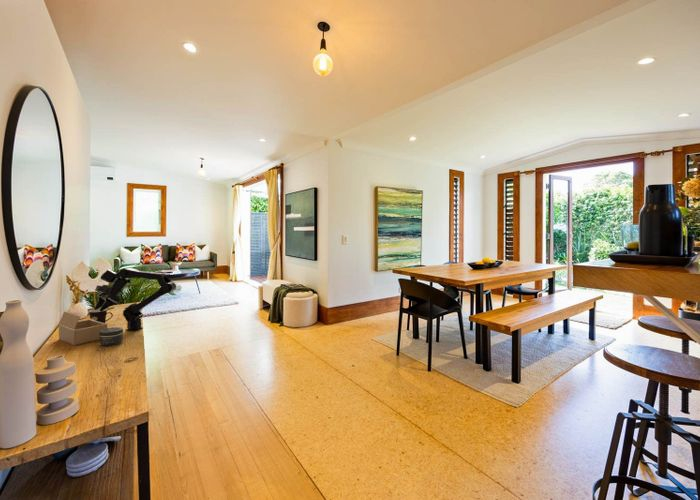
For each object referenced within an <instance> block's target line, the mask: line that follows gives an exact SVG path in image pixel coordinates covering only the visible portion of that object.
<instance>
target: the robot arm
mask: <svg viewBox="0 0 700 500" xmlns="http://www.w3.org/2000/svg"><path fill="white" fill-rule="evenodd" d="M134 278H140V279H148V280H155V281H157V282H158V286H159V287H160V288H158V290H156V291H155V292H153V293H152V294H151V295H149V296H147V297H146V298H145V299H143V300H141V301H140V302H138V303H137V302H133V303H132V304H129V305H128V306H127V307H125V308H124V310H123V311H122V316H123V317H124V319H125V322H127V323H126V325H127V328H126V329H125V331H127V332H128V331H131V332H135V331H139V330H141V329H142V330H143V328H142V327H143V326H142V318H143V316H144V314H143V313H142V310H143V309H144V308H146V307H147V306H149V305H150V304H151V303H153V302H155V301H156V300H158V299H159V298H161V297H162V296H164V295H167V294H168V293H171V292H174V291H175V290H176V289H177V284H176V283H175V282H174V281H172V280H171V278H169V277H168V276H167V275H165V273H163V272H154V271H145V270H138V269H137V268H133V267H125V268H122V269H120V271H119V272H115V271H113V270H111V269H107V270H106V271H104V272H103V273H102V274H101V276H100V280H101V281H104V282H106V283H108V284H111V285H109V286H108V285H107V284H102V285H99V284H98V285H97V284H96V287H95V290H94V291H95V292H99V293H98V294H97V295H96V297H97V302H96V304H95V306H94V308H93V310H97V309H100V311H103V310H105V309H107V310H108V308H110V307H112V306H113V305H117V304H119V302H120V301H121V298H120V297H119V296H118V295H119V294H121V293H122V292H123V290H124V288H126V286H127V285H131V286H132V285H133V283H132V279H134Z"/></svg>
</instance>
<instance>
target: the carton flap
mask: <svg viewBox="0 0 700 500" xmlns="http://www.w3.org/2000/svg"><path fill="white" fill-rule="evenodd" d="M80 318H81V316H80V315H78V314H74V313H71V312H68V311H63V314H62V316H61V318H60V320H59V323H58V325H63V326H65V327H68V328H71V329H73V330H75V328H76V325H77V323H78V321H80Z"/></svg>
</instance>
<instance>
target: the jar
mask: <svg viewBox="0 0 700 500" xmlns="http://www.w3.org/2000/svg"><path fill="white" fill-rule="evenodd" d="M99 338H100V340H99V345H100V346H101V347H104V348H106V347H107V348H108V347H109V346H110V347H114V346H115V347H116V346H119V345H120V344H122V343H123V340H124V328H123V327H121V326H113V327H107V328H106V329H103V330H101V331H100V332H99ZM118 344H119V345H118Z"/></svg>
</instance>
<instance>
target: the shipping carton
mask: <svg viewBox="0 0 700 500" xmlns="http://www.w3.org/2000/svg"><path fill="white" fill-rule="evenodd" d="M106 328H108V324H107V323H106V322H105V323H102V322H99V321H95V320H92V319H90V318H89V319H83V320H78V323H77V325H76V328H75V330H73V329H71V328H68V327H65V326H63V325H60V324H58V340H59V341H61V342H64V343H65V344H68V345H71V346H73V347H77V346H79V345H84V344H85V345H86V344H88V343H92V342H97V341H100V338H99V332H100V331H101V330H103V329H106Z"/></svg>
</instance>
